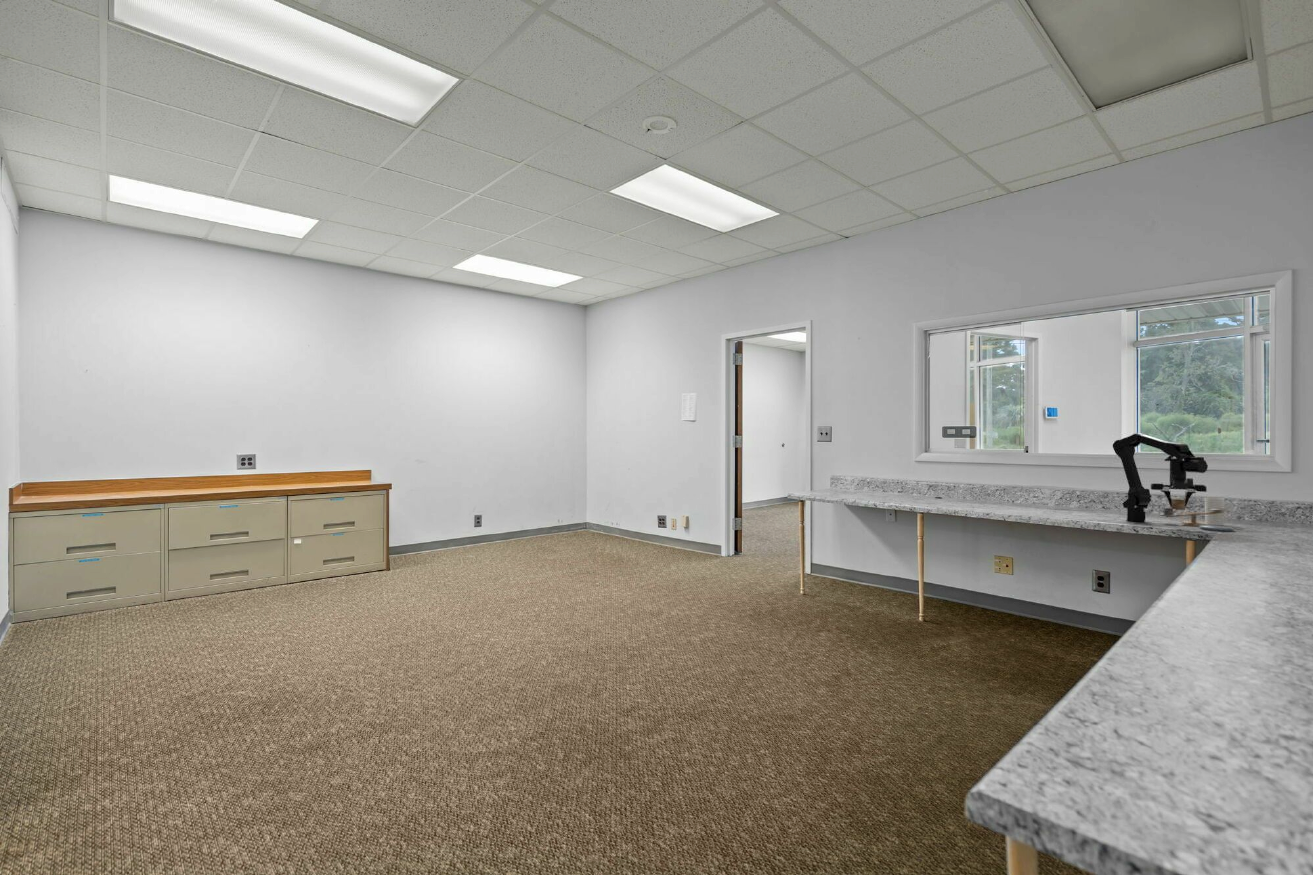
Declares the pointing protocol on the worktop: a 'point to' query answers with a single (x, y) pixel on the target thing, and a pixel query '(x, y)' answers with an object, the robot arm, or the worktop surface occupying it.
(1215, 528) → the dish
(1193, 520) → the balance
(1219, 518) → the mug
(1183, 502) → the block
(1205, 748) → the worktop surface
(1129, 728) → the worktop surface
